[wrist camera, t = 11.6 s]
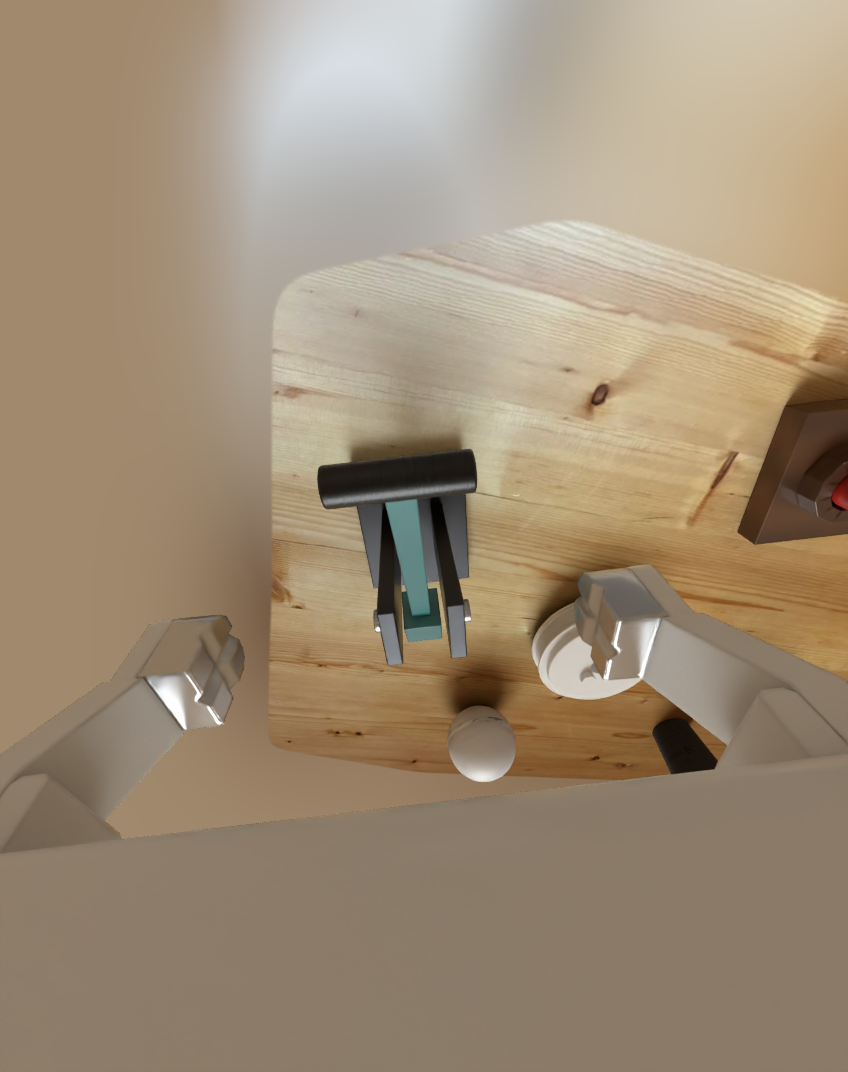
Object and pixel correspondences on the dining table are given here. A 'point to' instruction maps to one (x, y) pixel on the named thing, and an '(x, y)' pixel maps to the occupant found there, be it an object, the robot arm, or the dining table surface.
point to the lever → (403, 515)
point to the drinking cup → (682, 748)
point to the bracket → (442, 564)
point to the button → (841, 493)
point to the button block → (801, 477)
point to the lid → (570, 660)
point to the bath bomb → (481, 743)
